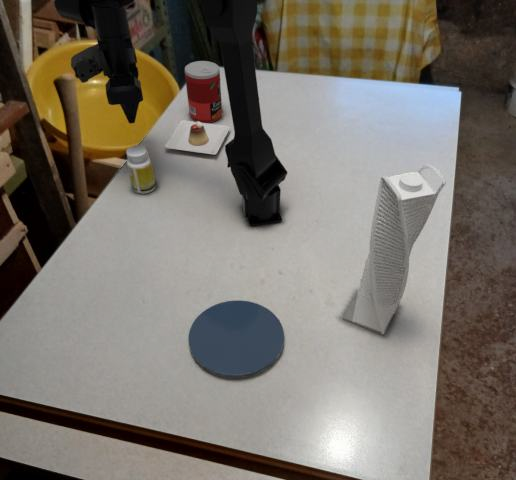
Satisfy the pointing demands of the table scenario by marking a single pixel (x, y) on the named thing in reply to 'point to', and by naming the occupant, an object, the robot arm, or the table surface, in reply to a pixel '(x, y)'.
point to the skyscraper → (392, 247)
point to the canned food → (203, 91)
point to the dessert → (197, 137)
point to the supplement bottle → (140, 169)
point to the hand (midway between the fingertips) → (131, 117)
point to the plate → (236, 339)
